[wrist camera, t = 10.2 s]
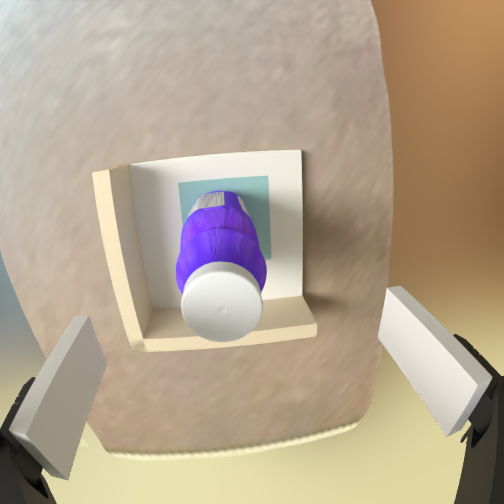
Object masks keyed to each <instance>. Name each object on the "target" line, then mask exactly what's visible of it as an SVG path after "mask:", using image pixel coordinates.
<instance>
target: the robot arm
mask: <svg viewBox="0 0 504 504" xmlns="http://www.w3.org/2000/svg"><path fill="white" fill-rule="evenodd" d="M378 338H379V340H380V341H381V342H382V344H383V345H384V347H385V348H386V349H387V351H388V352H389V353H390V355H391V356H392V358H393V359H394V360H395V362H396V363H397V365H398V366H399V367H400V369H401V370H402V372H403V373H404V374H405V376H406V377H407V379H408V380H409V382H410V383H411V384H412V386H413V387H414V389H415V390H416V392H417V393H418V395H419V396H420V398H421V399H422V401H423V402H424V404H425V405H426V407H427V408H428V410H429V411H430V413H431V414H432V415H433V417H434V418H435V420H436V422H437V423H438V425H439V426H440V428H441V429H442V431H443V432H444V434H445V436H446V437H448V436H449V435H452V434H453V433H455V432H457V431H459V430H461V429H462V428H463V426H464V425H465V423H466V422H467V420H469V421H470V422H471V426H470V427H469V429H468V430H467V431H466V433H465V434H464V436H463V437H462V439H461V443H462V442H463V441H464V440H465V438H466V437H467V436H468V438H467V442H466V443H467V445H466V452H465V457H464V463H463V468H462V473H461V478H460V482H459V486H458V490H457V494H456V499H455V502H454V504H504V376H501V375H500V374H499V373H498V372H497V371H496V370H495V369H494V368H493V367H492V366H491V365H490V364H489V363H488V361H486V360H485V358H484V357H483V356H482V355H479V352H478V351H477V350H476V349H474V348H473V346H472V345H471V344H470V343H469V342H468V341H467V340H466V339H464V338H462V337H460V336H458V335H457V334H454V335H452V334H451V333H450V332H449V331H448V330H447V329H446V328H445V327H444V326H443V325H442V324H441V323H439V321H437V319H435V318H434V317H433V316H432V315H431V314H430V313H429V312H428V311H427V310H426V309H425V308H424V307H423V306H422V305H421V304H420V303H419V302H418V301H417V300H415V299H414V298H413V297H412V296H411V295H410V294H409V293H408V292H407V291H406V290H405V289H403V288H402V287H401V286H396V287H390V288H387V290H386V296H385V302H384V308H383V313H382V318H381V324H380V328H379V333H378ZM106 366H107V362H106V359H105V357H104V355H103V352H102V350H101V347H100V345H99V342H98V339H97V337H96V334H95V331H94V329H93V326H92V323H91V320H90V317H89V316H75V317H74V318H73V319H72V321H71V322H70V324H69V325H68V327H67V328H66V330H65V332H64V333H63V335H62V336H61V338H60V339H59V341H58V342H57V344H56V346H55V347H54V349H53V350H52V352H51V354H50V355H49V357H48V358H47V360H46V362H45V363H44V365H43V367H42V368H41V370H40V372H39V374H38V375H37V377H36V378H34V377H32V378H31V379H30V380H29V381H28V382H27V383H26V384H24V386H23V387H22V389H21V391H20V393H19V394H18V395H19V396H18V397H17V398H16V400H15V404H13V405H12V407H11V409H10V411H9V413H8V415H7V417H6V419H5V420H4V422H3V424H2V426H1V428H0V504H56V501H55V499H54V497H53V495H52V493H51V491H50V489H49V487H48V484H47V482H46V480H45V478H44V477H43V475H42V474H41V472H42V469H43V468H44V469H45V470H46V471H47V472H48V473H49V474H50V475H51V476H54V477H58V478H61V479H65V480H69V476H70V472H71V468H72V465H73V461H74V458H75V454H76V451H77V448H78V445H79V442H80V439H81V435H82V432H83V429H84V426H85V423H86V420H87V417H88V414H89V411H90V409H91V406H92V403H93V400H94V397H95V395H96V392H97V389H98V387H99V384H100V381H101V379H102V376H103V373H104V371H105V368H106Z"/></svg>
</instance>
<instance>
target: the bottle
mask: <svg viewBox="0 0 504 504" xmlns="http://www.w3.org/2000/svg"><path fill="white" fill-rule="evenodd" d="M266 276H267V266H266V261H265V259H264V256H263V254H262V252H261V251H260V247H259V241H258V236H257V232H256V229H255V227H254V225H253V222H252V220H251V218H250V217H249V214H248V212H247V208H246V206H245V203H244V202H243V200H242V199H241V198H240V197H239V196H238V195H237V194H235V193H233V192H230V191H222V190H219V191H212V192H209V193H207V194H204V195H202V196H200V197H199V198H198V199H197V200H196V201H195V202H194V204H193V207H192V209H191V211H190V213H189V215H188V218H187V220H186V222H185V223H184V226H183V228H182V232H181V237H180V253H179V256H178V259H177V263H176V282H177V285H178V288H179V290H180V292H181V293H182V295H183V296H182V300H181V311H182V316H183V318H184V321H185V322H186V324H187V325H188V327H189V328H190V329H191V330H192V331H193V332H194V333H195V334H197V335H198V336H200V337H201V338H204V339H206V340H209V341H214V342H230V341H235V340H238V339H240V338H242V337H244V336H246V335H247V334H249V333H250V332H251V331H252V330H253V329H254V328H255V327H256V326H257V324H258V323H259V321H260V319H261V316H262V312H263V301H262V296H261V293H262V290H263V288H264V285H265V282H266Z"/></svg>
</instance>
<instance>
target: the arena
mask: <svg viewBox="0 0 504 504" xmlns="http://www.w3.org/2000/svg"><path fill="white" fill-rule="evenodd" d="M92 175H93V183H94V191H95V198H96V204H97V211H98V217H99V222H100V228H101V233H102V239H103V244H104V248H105V253H106V258H107V262H108V267H109V271H110V275H111V279H112V283H113V287H114V291H115V295H116V299H117V303H118V306H119V310H120V313H121V317H122V320H123V323H124V327H125V330H126V333H127V336H128V339H129V343H130V346H131V349H132V352H148V351H175V350H193V349H207V348H220V347H232V346H242V345H252V344H261V343H269V342H277V341H285V340H293V339H300V338H306V337H313V336H316V332H317V322H316V320H315V318H314V317H313V315H312V313H311V311H310V309H309V307H308V305H307V304H306V302H305V300H304V298H303V296H302V277H303V203H302V161H301V150H272V151H251V152H235V153H221V154H210V155H199V156H189V157H180V158H172V159H163V160H156V161H149V162H142V163H135V164H129V165H122V166H117V167H113V168H109V169H105V170H101V171H97V172H93V173H92ZM219 190H222V191H230V192H233V193H235V194H237V195H238V196H239V197H240V198H241V199H242V200H243V202H244V203H245V206H246V208H247V212H248V214H249V217H250V218H251V220H252V222H253V225H254V227H255V229H256V232H257V236H258V241H259V247H260V251H261V252H262V254H263V256H264V259H265V261H266V266H267V276H266V282H265V285H264V288H263V290H262V293H261V296H262V301H263V312H262V316H261V319H260V321H259V323H258V324H257V326H256V327H255V328H254V329H253V330H252V331H251V332H250V333H249V334H247V335H246V336H244V337H242V338H240V339H238V340H235V341H230V342H214V341H209V340H206V339H204V338H201V337H200V336H198V335H197V334H195V333H194V332H193V331H192V330H191V329H190V328H189V327H188V325H187V324H186V322H185V321H184V318H183V316H182V311H181V300H182V296H183V295H182V293H181V292H180V290H179V288H178V285H177V282H176V263H177V259H178V256H179V253H180V237H181V232H182V228H183V226H184V223H185V222H186V220H187V218H188V215H189V213H190V211H191V209H192V207H193V204H194V202H195V201H196V200H197V199H198V198H199V197H200V196H202V195H204V194H207V193H209V192H212V191H219Z"/></svg>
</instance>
